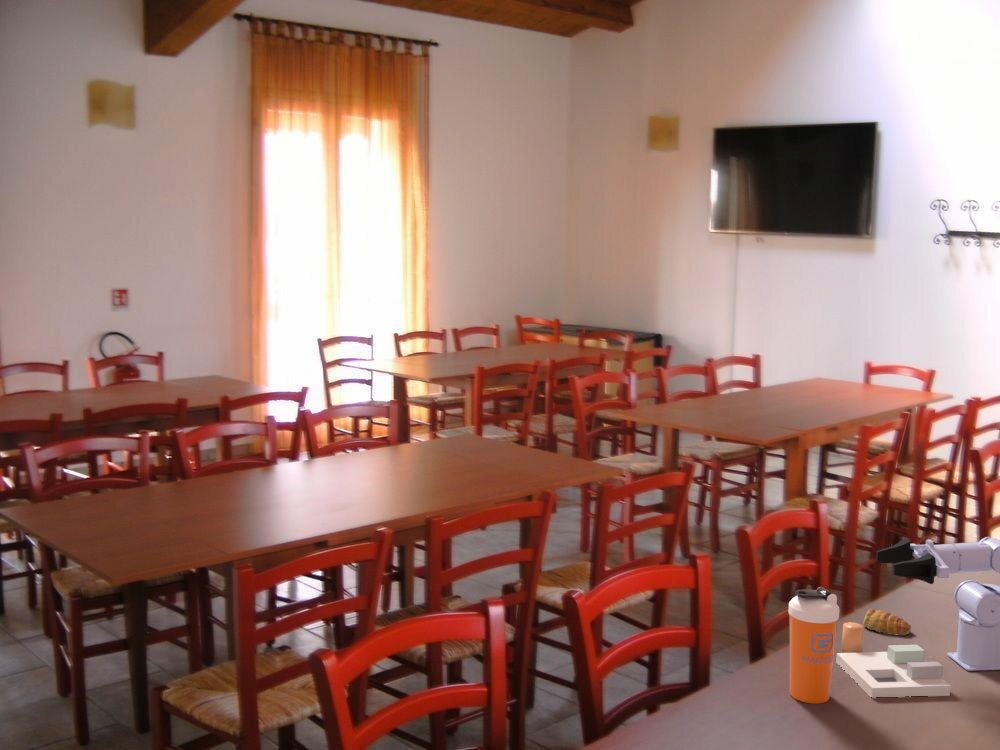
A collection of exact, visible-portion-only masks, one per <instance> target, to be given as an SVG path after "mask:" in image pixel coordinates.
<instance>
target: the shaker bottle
mask: <svg viewBox="0 0 1000 750" xmlns="http://www.w3.org/2000/svg"><path fill="white" fill-rule="evenodd" d="M794 594H795V596H794V597H792V599H791V600H789V602H788V612H787V613H788V615H789V694H790V696H791V697H792V698H793V699H795V700H797V701H799V702H802V703H807V704H814V705H816V704H823V703H826V702H828V701H829V700H830V697H831V695H830V694H831V688H832V687H831V686H832V678H833V677H832V676H833V669H834V668H833V667H834V659H835V658H834V657H835V648H836V638H837V629H838V628H837V627H838V621H839V619H840V606H839V605H838V604H837V602H838V596H837V595H836V594H835V593H833V592H832V591H830V590H829V589H826V588H824V587H822V586H818V587H817V589H805V588H804V589H796V590H795V591H794Z"/></svg>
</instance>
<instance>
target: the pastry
mask: <svg viewBox="0 0 1000 750" xmlns="http://www.w3.org/2000/svg"><path fill="white" fill-rule="evenodd" d="M862 625H863V626H864V628H866V627H867V628H868V630H869V629H870V631H876V632H877V631H880V632H883V633H882V634H886V633H890V634H889V635H891V634H898V635H897V636H906V635H908V634H910V632H911V628H912V625H910V623H909V622H907V621H906V620H904V618H903V619H902V618H900V617H898V616H897V615H894V614H892V613H891V611H884V610H882V609H880V610H876V609H873V608H869V609H868V610H867V612H866V613H865V616H864V619H863V622H862ZM867 628H866V629H867ZM880 632H879V633H880Z"/></svg>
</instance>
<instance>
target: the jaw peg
mask: <svg viewBox="0 0 1000 750" xmlns="http://www.w3.org/2000/svg"><path fill="white" fill-rule="evenodd" d="M864 630H865V626H864V625H863V624H862V623H861V624H860V623H858V622H853V621H852V622H851V621H849V622H844V623H843V624H842V637H841V638H842V639H841V653H860V652H864V651H863V649H864V648H863V647H864V634H865V633H864Z"/></svg>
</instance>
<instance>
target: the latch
mask: <svg viewBox="0 0 1000 750" xmlns="http://www.w3.org/2000/svg"><path fill="white" fill-rule="evenodd" d="M886 652H887V658H888V659H889V660H890V661H892V662H893V663H894V664H903V663H908V662H925V653H926V652H925V649H923V648H922V647H921V646H919V645H918V644H896V645H895V644H891V645H888V644H887V651H886Z"/></svg>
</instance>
